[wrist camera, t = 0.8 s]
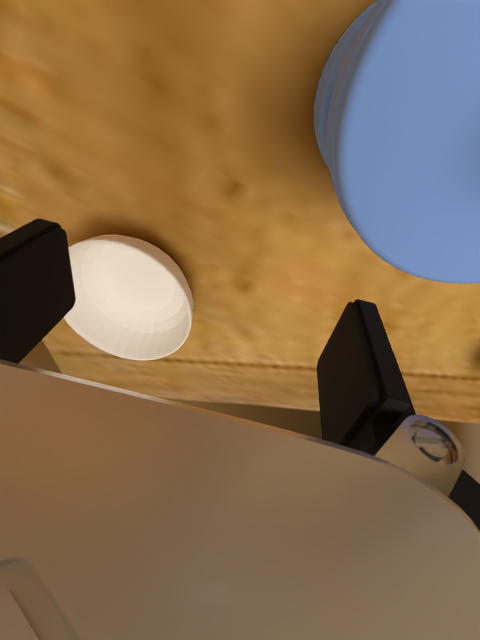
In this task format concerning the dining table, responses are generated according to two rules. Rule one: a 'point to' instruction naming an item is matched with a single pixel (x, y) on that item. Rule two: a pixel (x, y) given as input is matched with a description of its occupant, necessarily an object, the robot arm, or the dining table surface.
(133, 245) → the bowl
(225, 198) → the dining table surface
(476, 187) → the water jug
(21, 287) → the robot arm
